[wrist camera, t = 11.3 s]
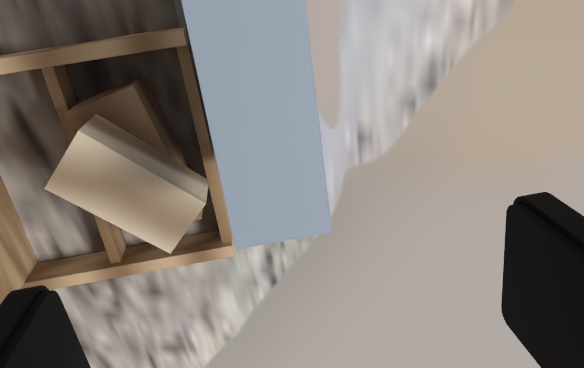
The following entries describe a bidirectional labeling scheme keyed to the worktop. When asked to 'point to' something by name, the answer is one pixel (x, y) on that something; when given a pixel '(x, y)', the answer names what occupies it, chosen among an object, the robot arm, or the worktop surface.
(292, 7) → the grey-blue rectangular brick
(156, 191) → the offcut upper
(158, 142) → the offcut lower
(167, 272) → the worktop surface
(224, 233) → the rack
